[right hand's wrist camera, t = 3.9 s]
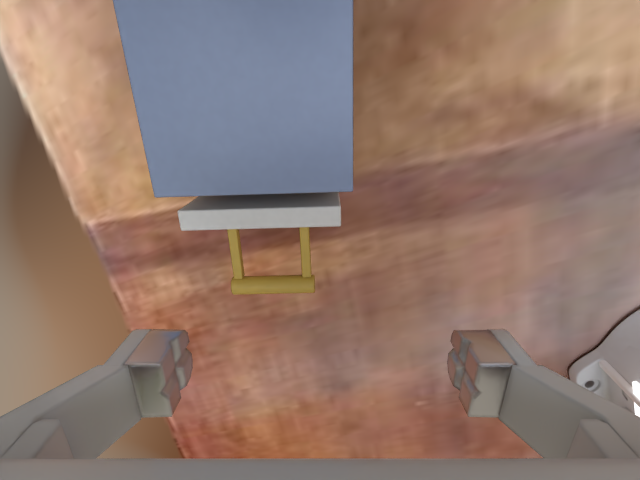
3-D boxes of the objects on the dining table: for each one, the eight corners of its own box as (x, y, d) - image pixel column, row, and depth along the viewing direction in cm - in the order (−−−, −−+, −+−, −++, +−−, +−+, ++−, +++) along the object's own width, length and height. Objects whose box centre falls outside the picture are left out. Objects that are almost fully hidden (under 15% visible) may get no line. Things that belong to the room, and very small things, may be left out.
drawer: (338, 260, 28) (342, 310, 21) (228, 262, 28) (196, 313, 21) (332, -83, 20) (335, -187, 13) (180, -75, 20) (103, -173, 13)
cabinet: (344, 164, 26) (353, 191, 17) (211, 168, 27) (154, 197, 18) (341, -150, 20) (353, -359, 11) (166, -140, 20) (40, -336, 11)
